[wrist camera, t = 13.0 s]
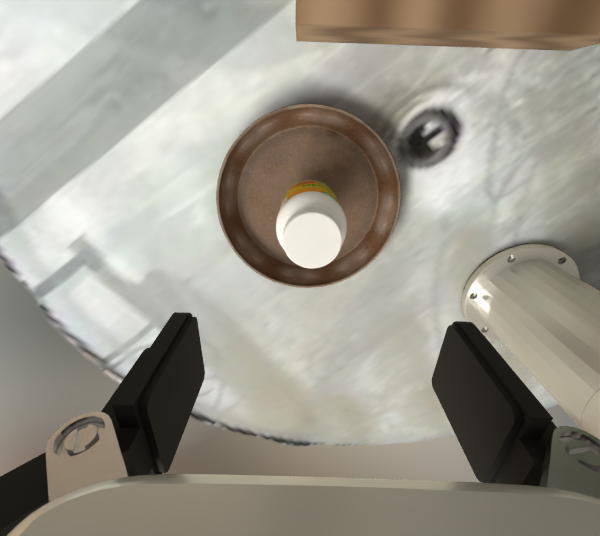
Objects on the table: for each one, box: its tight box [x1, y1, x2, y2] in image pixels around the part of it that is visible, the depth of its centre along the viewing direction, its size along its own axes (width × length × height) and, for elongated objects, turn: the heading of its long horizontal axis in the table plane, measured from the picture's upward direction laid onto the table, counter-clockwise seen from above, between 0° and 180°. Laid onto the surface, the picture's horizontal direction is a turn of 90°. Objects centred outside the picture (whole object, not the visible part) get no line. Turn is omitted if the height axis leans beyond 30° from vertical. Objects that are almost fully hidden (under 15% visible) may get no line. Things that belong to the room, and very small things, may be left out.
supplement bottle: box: [276, 180, 347, 268], centre depth 24 cm, size 5×5×10 cm
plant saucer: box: [216, 104, 401, 288], centre depth 30 cm, size 18×18×3 cm
